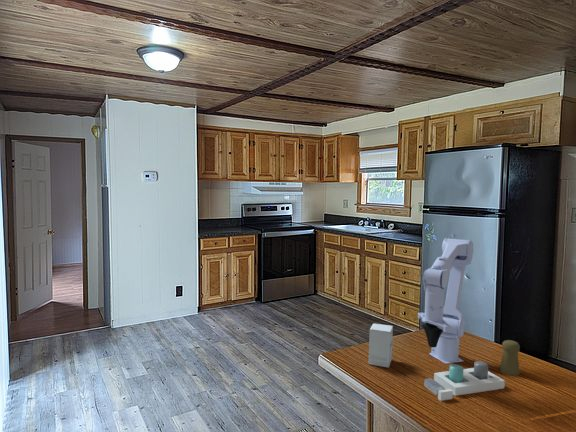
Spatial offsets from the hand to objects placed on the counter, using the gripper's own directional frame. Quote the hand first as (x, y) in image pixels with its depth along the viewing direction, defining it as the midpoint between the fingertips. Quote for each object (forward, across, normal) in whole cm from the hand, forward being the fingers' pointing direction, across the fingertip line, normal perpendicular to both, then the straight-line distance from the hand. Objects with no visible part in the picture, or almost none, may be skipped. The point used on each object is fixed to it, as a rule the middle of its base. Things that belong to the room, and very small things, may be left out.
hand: (432, 346), depth 134 cm
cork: (+10, +5, +27) cm, 29 cm away
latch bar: (+10, +9, -6) cm, 15 cm away
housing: (+10, +9, +7) cm, 15 cm away
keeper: (+10, +15, -6) cm, 19 cm away
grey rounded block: (+9, +9, +12) cm, 17 cm away
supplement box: (+10, -14, -11) cm, 20 cm away
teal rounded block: (+9, +9, +2) cm, 13 cm away
